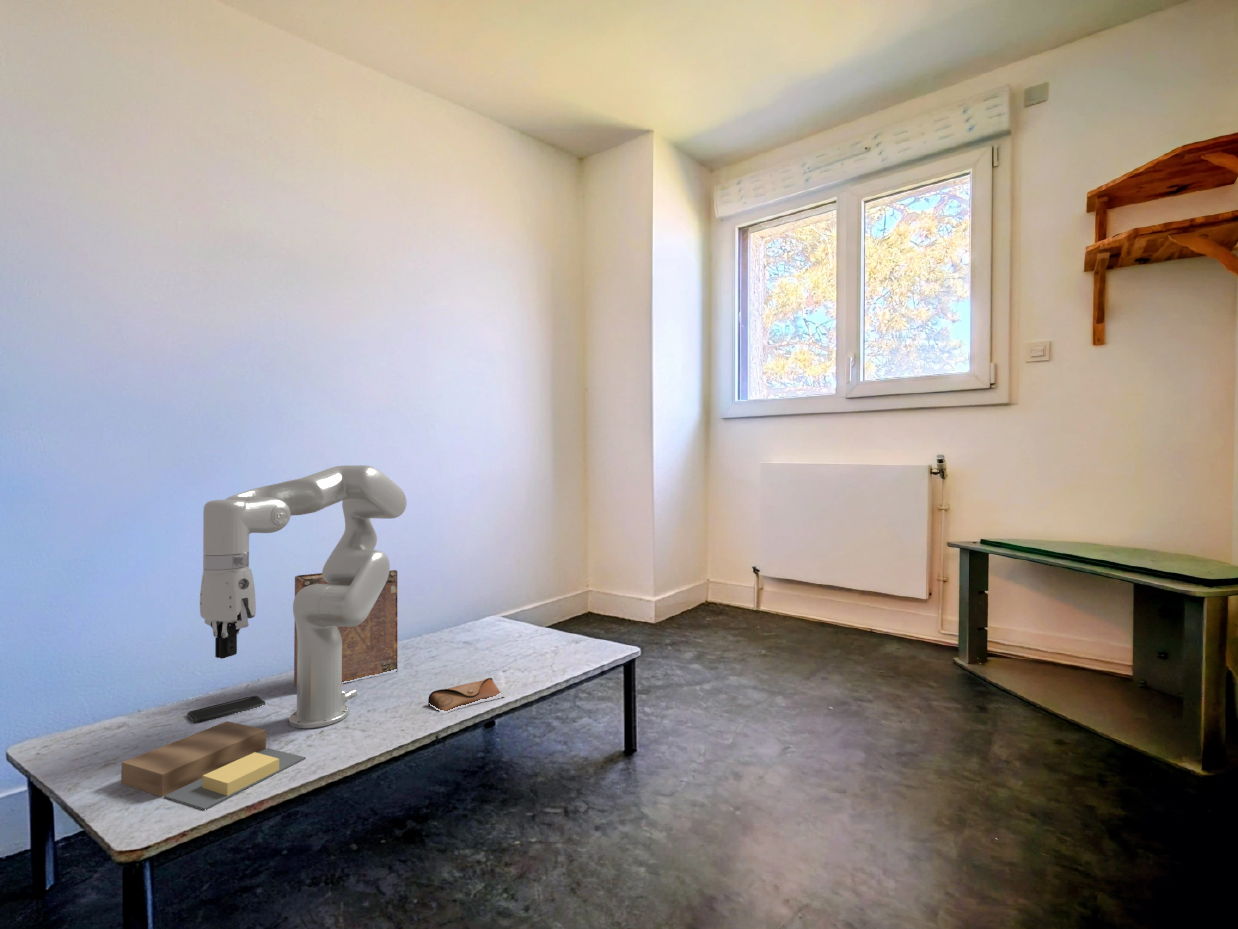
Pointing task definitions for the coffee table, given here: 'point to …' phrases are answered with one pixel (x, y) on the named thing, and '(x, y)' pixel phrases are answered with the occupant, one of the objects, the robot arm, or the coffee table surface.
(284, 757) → the mat
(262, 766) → the tile
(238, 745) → the brown wooden block
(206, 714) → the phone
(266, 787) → the coffee table surface
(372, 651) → the book
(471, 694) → the sunglasses case
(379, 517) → the robot arm
